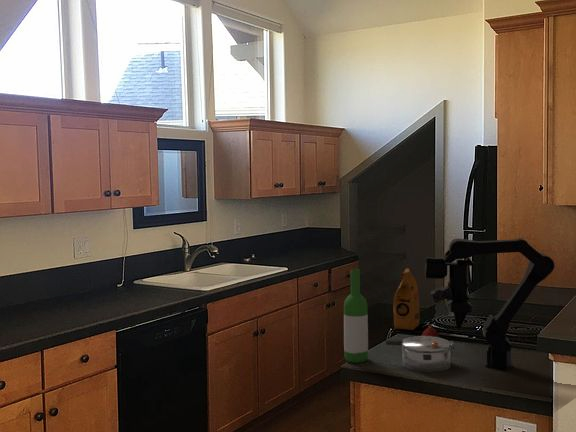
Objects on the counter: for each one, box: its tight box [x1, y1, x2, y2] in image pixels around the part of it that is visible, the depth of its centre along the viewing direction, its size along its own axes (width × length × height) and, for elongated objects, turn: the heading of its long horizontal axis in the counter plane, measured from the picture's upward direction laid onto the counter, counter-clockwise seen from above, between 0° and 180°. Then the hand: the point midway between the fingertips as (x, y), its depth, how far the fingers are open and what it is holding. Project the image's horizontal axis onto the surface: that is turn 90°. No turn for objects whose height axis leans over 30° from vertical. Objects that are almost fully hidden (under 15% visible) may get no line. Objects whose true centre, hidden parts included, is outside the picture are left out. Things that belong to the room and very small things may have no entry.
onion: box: [421, 325, 440, 338], centre depth 225 cm, size 6×6×8 cm
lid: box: [385, 335, 456, 353], centre depth 208 cm, size 21×15×2 cm
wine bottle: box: [343, 268, 369, 364], centre depth 212 cm, size 8×8×30 cm
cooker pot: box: [401, 346, 451, 373], centre depth 208 cm, size 15×19×6 cm
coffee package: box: [393, 267, 420, 331], centre depth 254 cm, size 10×12×22 cm
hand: (458, 328), depth 205 cm, fingers closed
